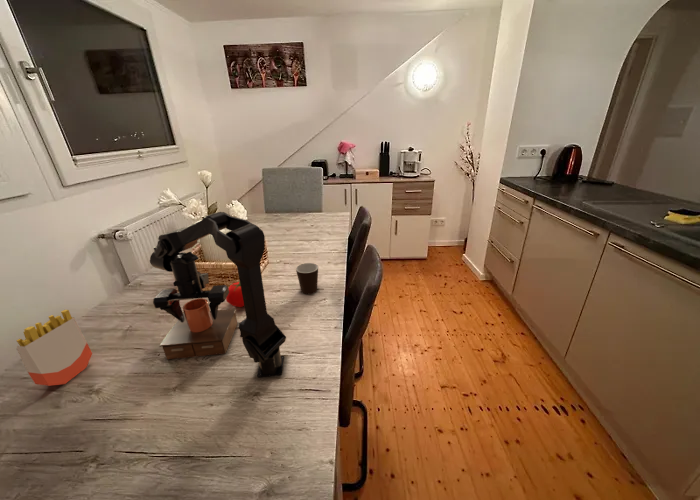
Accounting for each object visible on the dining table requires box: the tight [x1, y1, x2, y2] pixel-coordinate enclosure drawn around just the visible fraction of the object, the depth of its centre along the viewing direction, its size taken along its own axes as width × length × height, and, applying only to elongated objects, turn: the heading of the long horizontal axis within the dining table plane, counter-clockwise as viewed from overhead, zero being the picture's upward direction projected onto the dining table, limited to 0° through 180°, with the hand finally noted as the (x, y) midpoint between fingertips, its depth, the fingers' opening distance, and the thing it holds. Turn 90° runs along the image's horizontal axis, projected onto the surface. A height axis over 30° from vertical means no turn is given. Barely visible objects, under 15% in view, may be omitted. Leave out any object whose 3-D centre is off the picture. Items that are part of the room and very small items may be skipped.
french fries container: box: [16, 309, 93, 387], centre depth 72 cm, size 5×11×18 cm, turn 171°
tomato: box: [225, 280, 244, 308], centre depth 103 cm, size 9×10×8 cm
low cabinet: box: [159, 308, 238, 360], centre depth 85 cm, size 15×17×6 cm
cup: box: [182, 298, 213, 332], centre depth 83 cm, size 6×6×8 cm
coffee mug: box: [295, 262, 319, 295], centre depth 111 cm, size 12×9×10 cm
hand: (199, 320), depth 83 cm, fingers open, 9 cm apart
